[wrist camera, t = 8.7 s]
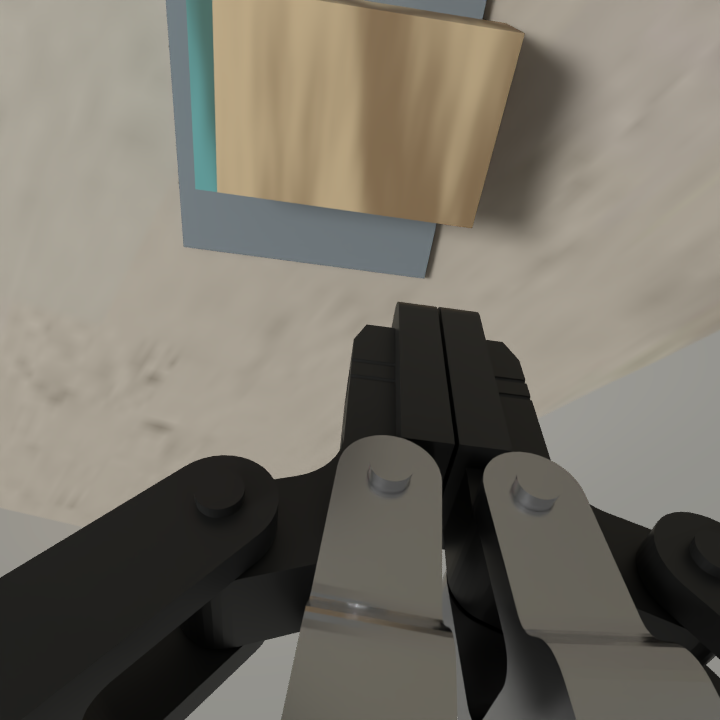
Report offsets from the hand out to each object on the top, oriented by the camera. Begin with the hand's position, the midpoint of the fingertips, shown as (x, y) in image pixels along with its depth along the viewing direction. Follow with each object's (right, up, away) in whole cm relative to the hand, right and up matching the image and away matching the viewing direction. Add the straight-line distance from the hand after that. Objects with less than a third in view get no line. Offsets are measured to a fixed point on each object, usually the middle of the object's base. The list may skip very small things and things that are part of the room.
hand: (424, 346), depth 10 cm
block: (+5, +10, +14) cm, 18 cm away
